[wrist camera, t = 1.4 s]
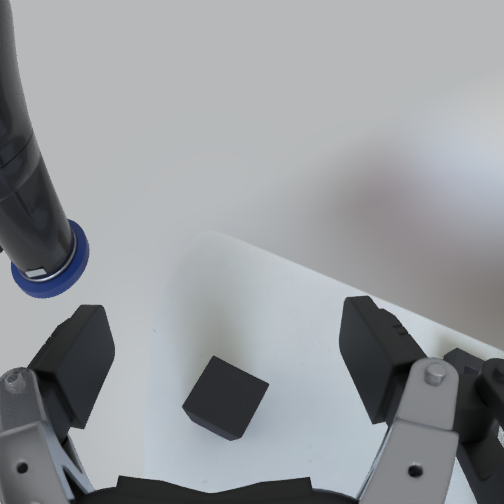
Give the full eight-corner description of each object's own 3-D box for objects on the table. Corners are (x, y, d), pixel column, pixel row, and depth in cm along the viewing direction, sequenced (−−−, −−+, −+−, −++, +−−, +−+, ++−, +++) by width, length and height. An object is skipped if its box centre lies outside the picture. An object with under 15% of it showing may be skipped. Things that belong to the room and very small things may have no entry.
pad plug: (191, 420, 25) (181, 407, 17) (212, 384, 27) (213, 354, 19) (230, 441, 24) (240, 438, 16) (250, 404, 27) (269, 383, 18)
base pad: (426, 432, 26) (440, 429, 23) (444, 355, 31) (457, 347, 29) (481, 448, 24) (495, 445, 22) (493, 378, 29) (506, 371, 27)
